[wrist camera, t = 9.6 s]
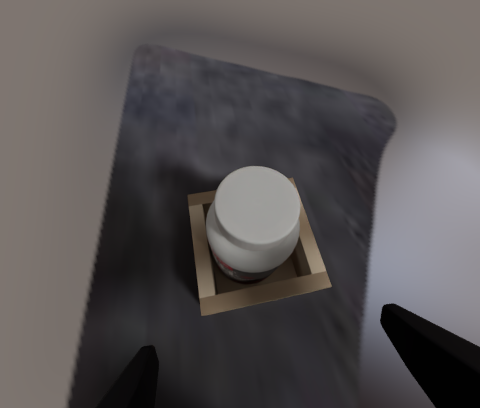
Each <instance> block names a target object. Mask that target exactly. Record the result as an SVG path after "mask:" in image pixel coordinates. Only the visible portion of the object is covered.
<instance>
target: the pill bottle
mask: <svg viewBox="0 0 480 408" xmlns="http://www.w3.org/2000/svg"><path fill="white" fill-rule="evenodd" d="M299 215H300V200H299V196H298V193H297V191H296V189H295V187H294V185H293V184H292V183H291V182H290V181H289V180H288V179H287V178H286V177H285V176H284V175H282V174H281V173H279V172H277V171H275V170H273V169H270V168H267V167H261V166H249V167H244V168H241V169H238V170H236V171H234V172H232V173H230V174H229V175H228V176H227V177H226V178H225V179H224V180H223V181H222V182H221V183H220V185H219V187H218V189H217V191H216V194H215V199H214V201H213V203H212V204H211V206H210V208H209V211H208V214H207V218H206V233H207V238H208V242H209V244H210V247H211V249H212V253H213V255H214V258H215V261H216V264H217V266H218V268H219V269H220V271H221V272H222V273H223V274H224V275H225V276H226V277H227V278H228V279H230V280H231V281H233V282H236V283H239V284H255V283H259V282H261V281H263V280H264V279H266V278H267V277H268V276H270V275H271V274H272V273H273V272H274V271H275V270H276V269H277V268H278V267H279V266H280V265H281V264H282V263H283V262H284V261H286V259H287V258H288V257H289V256H290V255H291V253H292V252H293V250H294V248H295V246H296V244H297V241H298V238H299V232H300V223H299Z"/></svg>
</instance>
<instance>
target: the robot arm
mask: <svg viewBox="0 0 480 408" xmlns="http://www.w3.org/2000/svg"><path fill="white" fill-rule="evenodd" d="M380 322H381V325H382V327H383V329H384V330H385V332H386V334H387V336H388V337H389V339H390V341H391V342H392V344H393V345H394V347H395V349H396V350H397V352H398V353H399V355H400V357H401V359H402V360H403V362H404V363H405V365H406V366H407V368H408V369H409V371H410V372H411V374H412V375H413V377H414V378H415V379H416V381H417V382H418V384H419V385H420V386H421V388H422V389H423V390H424V392H425V393H426V394H427V396H428V397H429V399H430V400H431V402H432V403H433V404H434V406H435V407H436V408H480V347H479V346H477V345H475V344H473V343H471V342H469V341H467V340H465V339H463V338H461V337H459V336H457V335H455V334H453V333H451V332H449V331H447V330H445V329H443V328H442V327H440V326H438V325H435V324H433V323H431V322H430V321H428V320H426V319H424V318H422V317H420V316H418V315H416V314H414V313H412V312H410V311H408V310H406V309H404V308H402V307H400V306H398V305H396V304H386V305H384V306H383V307H382V313H381V319H380ZM158 370H159V361H158V357H157V353H156V350H155V347H154V346H153V345H149V346H144V347H142V348H141V349H140V350H139V351H138V352H137V354H136V355H135V356H134V358H133V359H132V360H131V362H130V363H129V364H128V366H127V367H126V368H125V370H124V371H123V372H122V374H121V375H120V376H119V377H118V379H117V380H116V381H115V383H114V384H113V385H112V387H111V388H110V389H109V391H108V392H107V393H106V395H105V396H104V397H103V399H102V400H101V401H100V403H99V404H98V405H97V406H96V408H154V405H155V396H156V387H157V379H158Z"/></svg>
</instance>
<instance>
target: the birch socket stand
mask: <svg viewBox="0 0 480 408" xmlns="http://www.w3.org/2000/svg"><path fill="white" fill-rule="evenodd" d="M288 180H289V181H290V182H291V183H292V184H293V185H294V187H295V189H296V191H297V188H296V185H295V183H294V180H293V178H288ZM216 191H217V190H214V191H208V192H202V193H196V194H190V195H188V204H189V213H190V221H191V230H192V238H193V247H194V256H195V264H196V273H197V281H198V290H199V299H200V307H201V316H205V315H211V314H215V313H220V312H224V311H228V310H233V309H237V308H242V307H246V306H251V305H255V304H260V303H264V302H268V301H273V300H277V299H282V298H286V297H291V296H295V295H300V294H304V293H308V292H313V291H317V290H321V289H325V288H328V287H332V286H331V283H330V280H329V278H328V275H327V272H326V269H325V266H324V264H323V261H322V258H321V255H320V252H319V250H318V247H317V244H316V241H315V238H314V236H313V233H312V230H311V227H310V225H309V222H308V219H307V216H306V213H305V211H304V208H303V205H302V202H301V199H300V197H299V200H300V215H299V223H300V232H299V238H298V241H297V244H296V246H295V248H294V250H293V252H292V253H291V255H290V256H289V257H288V258H287V259H286V261H284V262H283V263H282V264H281V265H280V266H279V267H278V268H277V269H276V270H275V271H274V272H273V273H272V274H271V275H270V276H268V277H267V278H266V279H264V280H263V281H261V282H259V283H255V284H239V283H236V282H233V281H231V280H230V279H228V278H227V277H226V276H225V275H224V274H223V273H222V272H221V271H220V269H219V268H218V266H217V264H216V261H215V258H214V255H213V253H212V249H211V247H210V244H209V242H208V238H207V233H206V218H207V214H208V211H209V208H210V206H211V204H212V203H213V201H214V199H215V194H216ZM297 193H298V191H297ZM298 196H299V194H298Z"/></svg>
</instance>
